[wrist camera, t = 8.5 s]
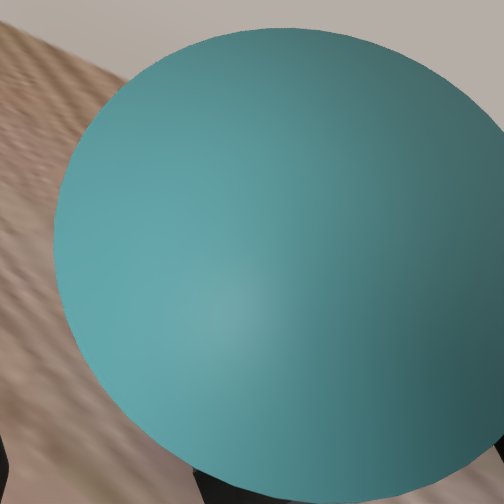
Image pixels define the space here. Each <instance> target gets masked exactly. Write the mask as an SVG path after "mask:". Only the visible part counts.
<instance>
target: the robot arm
mask: <svg viewBox="0 0 504 504" xmlns="http://www.w3.org/2000/svg"><path fill="white" fill-rule="evenodd" d="M494 446H495V448H496V450H497V452H498V453H499V455H500V457H501V459H502V461H503V463H504V435H503V436H502V437H501V438H500V439H499V440H498V441H497V442H496V443H495V444H494ZM8 473H9V463H8V459H7V455H6V452H5V449H4V445H3V442H2V439H1V436H0V504H1V500H2V496H3V493H4V489H5V486H6V482H7V478H8Z"/></svg>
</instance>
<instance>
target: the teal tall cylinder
mask: <svg viewBox="0 0 504 504" xmlns="http://www.w3.org/2000/svg"><path fill="white" fill-rule="evenodd" d="M53 251H54V260H55V269H56V279H57V286H58V289H59V293H60V297H61V301H62V304H63V308H64V312H65V316H66V319H67V322H68V324H69V326H70V329H71V331H72V333H73V335H74V338H75V340H76V342H77V345H78V347H79V349H80V352H81V354H82V355H83V357H84V359H85V360H86V362H87V363H88V365H89V367H90V368H91V370H92V371H93V373H94V375H95V376H96V378H97V379H98V381H99V383H100V384H101V386H102V387H103V388H104V390H105V391H106V392H107V393H108V394H109V395H110V397H111V398H112V399H113V400H114V401H115V403H116V404H117V405H118V406H119V407H120V408H121V410H122V411H123V412H124V413H125V414H126V415H127V417H128V418H129V419H131V420H132V421H133V422H134V423H135V424H136V425H137V426H138V427H140V428H141V429H142V430H143V431H144V432H145V433H146V434H148V435H149V436H150V437H151V438H152V439H153V440H154V441H156V442H157V443H158V444H159V445H160V446H162V447H163V448H165V449H166V450H168V451H170V452H171V453H173V454H174V455H176V456H177V457H179V458H180V459H182V460H183V461H185V462H186V463H188V464H190V465H191V466H193V467H194V468H196V469H198V470H200V471H203V472H205V473H207V474H209V475H211V476H213V477H216V478H218V479H220V480H222V481H224V482H226V483H229V484H231V485H233V486H236V487H239V488H243V489H246V490H250V491H253V492H257V493H260V494H263V495H267V496H270V497H274V498H280V499H287V500H294V501H302V502H309V503H360V502H365V501H371V500H377V499H382V498H388V497H394V496H399V495H401V494H404V493H407V492H410V491H413V490H416V489H419V488H422V487H425V486H427V485H430V484H433V483H435V482H437V481H439V480H441V479H443V478H445V477H447V476H448V475H450V474H452V473H454V472H456V471H458V470H459V469H461V468H463V467H465V466H467V465H468V464H470V463H471V462H472V461H473V460H475V459H476V458H477V457H479V456H480V455H481V454H482V453H484V452H485V451H486V450H488V449H489V448H490V447H491V446H493V445H494V444H495V443H496V442H497V441H498V440H499V439H500V438H501V437H502V436H503V435H504V132H503V131H502V130H501V129H500V128H499V127H498V126H497V125H496V124H495V122H494V121H493V120H492V119H491V118H490V117H489V115H488V114H487V113H485V112H484V111H483V110H482V109H481V108H480V107H479V106H478V105H477V104H476V103H475V102H474V101H473V100H471V99H470V98H469V97H468V96H467V95H466V94H464V93H463V92H462V91H460V90H459V89H458V88H457V87H455V86H454V85H453V84H451V83H450V82H449V81H447V80H446V79H445V78H443V77H441V76H440V75H438V74H436V73H435V72H433V71H432V70H430V69H428V68H427V67H425V66H424V65H422V64H420V63H418V62H416V61H414V60H412V59H410V58H408V57H406V56H404V55H402V54H400V53H398V52H395V51H393V50H390V49H387V48H385V47H382V46H380V45H377V44H374V43H372V42H368V41H365V40H361V39H358V38H354V37H351V36H347V35H342V34H336V33H331V32H325V31H320V30H307V29H296V28H269V29H268V28H267V29H258V30H249V31H240V32H236V33H232V34H227V35H222V36H218V37H214V38H211V39H208V40H205V41H202V42H199V43H196V44H193V45H190V46H188V47H186V48H183V49H181V50H179V51H177V52H175V53H172V54H170V55H168V56H166V57H164V58H163V59H161V60H160V61H158V62H156V63H155V64H153V65H151V66H150V67H148V68H147V69H145V70H143V71H142V72H140V73H139V74H138V75H137V76H135V77H134V78H133V79H132V80H131V81H129V82H128V83H127V84H126V85H124V86H123V87H122V88H121V89H120V90H119V91H118V92H117V93H116V94H115V95H114V96H113V97H112V98H111V99H110V100H109V101H108V102H107V103H106V104H105V105H104V107H103V108H102V109H101V110H100V111H99V113H98V114H97V115H96V117H95V118H94V120H93V121H92V122H91V124H90V125H89V127H88V128H87V129H86V131H85V132H84V134H83V136H82V138H81V140H80V142H79V143H78V145H77V147H76V149H75V151H74V153H73V155H72V157H71V159H70V162H69V165H68V168H67V170H66V173H65V176H64V179H63V182H62V184H61V188H60V193H59V198H58V203H57V209H56V214H55V224H54V248H53Z"/></svg>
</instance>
